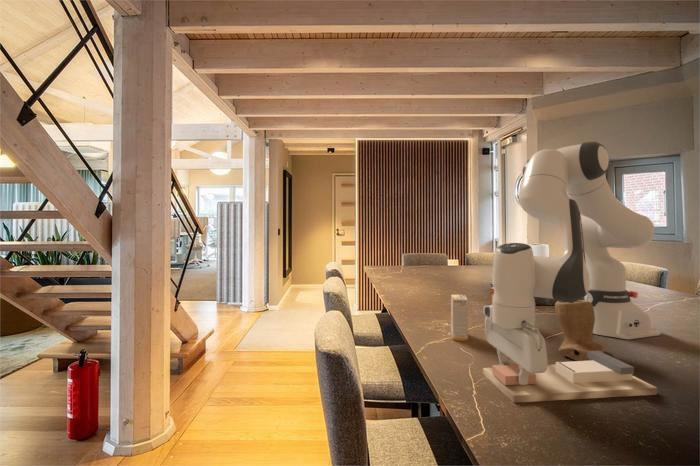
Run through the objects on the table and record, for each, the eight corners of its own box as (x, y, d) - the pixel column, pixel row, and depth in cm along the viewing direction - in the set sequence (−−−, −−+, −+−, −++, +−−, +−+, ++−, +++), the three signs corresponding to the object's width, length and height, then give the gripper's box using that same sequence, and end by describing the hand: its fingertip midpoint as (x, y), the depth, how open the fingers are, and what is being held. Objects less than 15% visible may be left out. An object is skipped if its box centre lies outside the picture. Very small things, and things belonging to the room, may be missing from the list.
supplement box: (468, 341, 113) (468, 299, 112) (452, 340, 114) (452, 299, 113) (465, 333, 121) (465, 294, 120) (450, 332, 122) (450, 293, 121)
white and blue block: (604, 365, 89) (604, 350, 89) (640, 383, 79) (640, 366, 79) (550, 368, 88) (550, 352, 88) (579, 387, 78) (579, 369, 78)
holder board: (605, 367, 91) (605, 362, 91) (656, 394, 77) (656, 387, 77) (483, 374, 89) (483, 368, 89) (513, 402, 75) (513, 395, 75)
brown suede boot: (560, 342, 111) (560, 293, 110) (607, 351, 103) (608, 298, 102) (546, 356, 100) (546, 302, 99) (598, 367, 92) (599, 309, 91)
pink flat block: (520, 372, 85) (520, 363, 85) (535, 383, 79) (535, 374, 79) (492, 373, 85) (492, 365, 85) (505, 385, 79) (505, 376, 79)
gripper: (556, 329, 71) (556, 397, 72) (504, 304, 92) (504, 358, 92) (526, 330, 71) (525, 399, 71) (480, 305, 91) (480, 359, 92)
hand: (513, 376), depth 82 cm, fingers closed on pink flat block, 6 cm apart
